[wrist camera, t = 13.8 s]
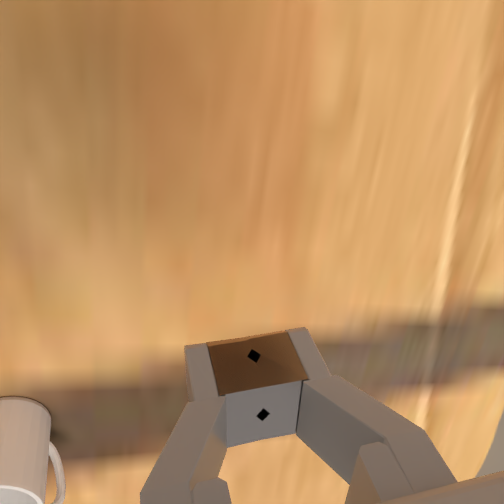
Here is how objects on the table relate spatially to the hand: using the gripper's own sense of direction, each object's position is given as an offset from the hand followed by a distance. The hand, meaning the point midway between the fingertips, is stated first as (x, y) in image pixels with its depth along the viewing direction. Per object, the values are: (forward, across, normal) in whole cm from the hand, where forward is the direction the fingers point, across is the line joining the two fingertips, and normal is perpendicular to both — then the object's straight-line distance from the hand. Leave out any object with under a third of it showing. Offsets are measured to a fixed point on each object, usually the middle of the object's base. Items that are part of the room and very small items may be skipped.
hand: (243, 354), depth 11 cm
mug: (+29, +18, +36) cm, 50 cm away
